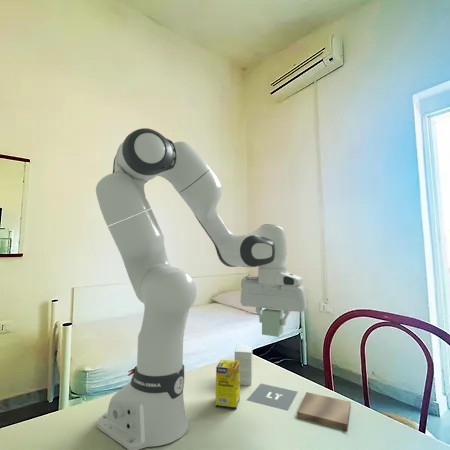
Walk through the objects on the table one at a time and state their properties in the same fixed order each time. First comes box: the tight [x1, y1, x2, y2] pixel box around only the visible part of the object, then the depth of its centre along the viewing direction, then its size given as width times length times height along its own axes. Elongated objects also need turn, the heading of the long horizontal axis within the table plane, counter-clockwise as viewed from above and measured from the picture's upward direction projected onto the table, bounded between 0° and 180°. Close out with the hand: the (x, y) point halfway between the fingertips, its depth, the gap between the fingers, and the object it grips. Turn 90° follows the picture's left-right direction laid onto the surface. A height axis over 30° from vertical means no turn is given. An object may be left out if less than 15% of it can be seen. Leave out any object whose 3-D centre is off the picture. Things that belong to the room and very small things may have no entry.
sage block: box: [261, 308, 284, 338], centre depth 89 cm, size 5×5×7 cm
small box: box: [234, 343, 253, 386], centre depth 99 cm, size 8×6×10 cm
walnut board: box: [296, 392, 352, 431], centre depth 79 cm, size 12×12×2 cm
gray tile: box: [246, 383, 299, 411], centre depth 88 cm, size 12×12×1 cm
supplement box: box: [215, 359, 241, 411], centre depth 84 cm, size 6×6×11 cm
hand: (272, 323), depth 89 cm, fingers closed on sage block, 5 cm apart
